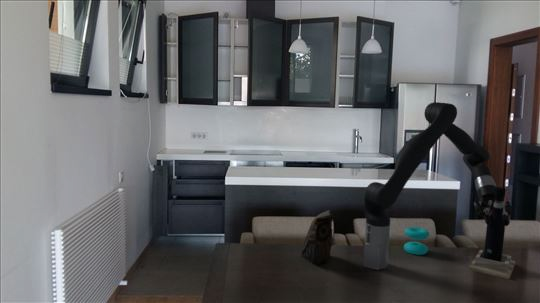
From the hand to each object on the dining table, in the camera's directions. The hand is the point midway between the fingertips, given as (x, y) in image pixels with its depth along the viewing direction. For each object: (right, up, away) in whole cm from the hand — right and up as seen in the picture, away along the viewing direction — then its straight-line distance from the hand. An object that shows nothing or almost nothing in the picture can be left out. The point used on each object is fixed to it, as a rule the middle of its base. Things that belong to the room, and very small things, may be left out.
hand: (498, 224), depth 167 cm
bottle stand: (0, -18, +4) cm, 18 cm away
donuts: (-26, -15, +20) cm, 36 cm away
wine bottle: (-1, -16, +4) cm, 16 cm away
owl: (-71, -16, +9) cm, 73 cm away
